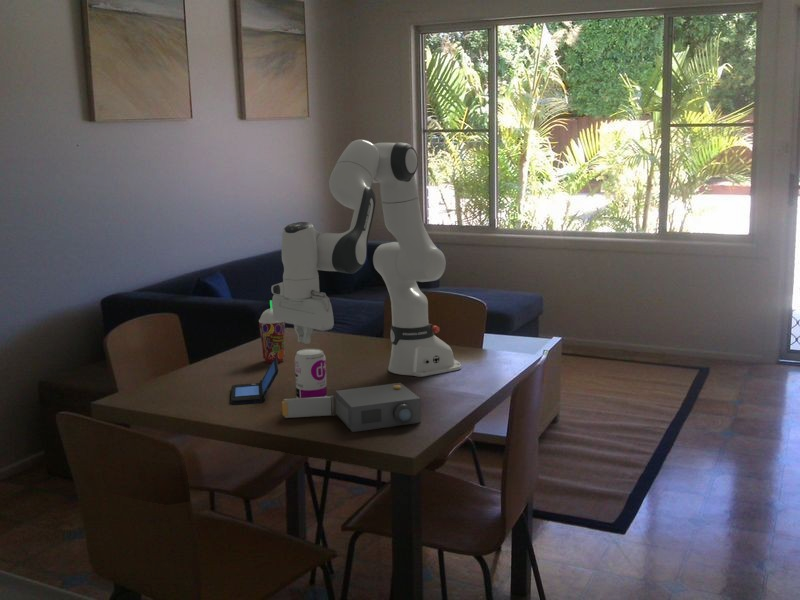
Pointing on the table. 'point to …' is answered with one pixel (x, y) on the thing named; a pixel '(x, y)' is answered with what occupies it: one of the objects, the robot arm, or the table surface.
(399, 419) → the camera body
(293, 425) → the table surface
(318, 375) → the supplement can
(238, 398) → the handheld game console
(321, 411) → the side door
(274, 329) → the smoothie
